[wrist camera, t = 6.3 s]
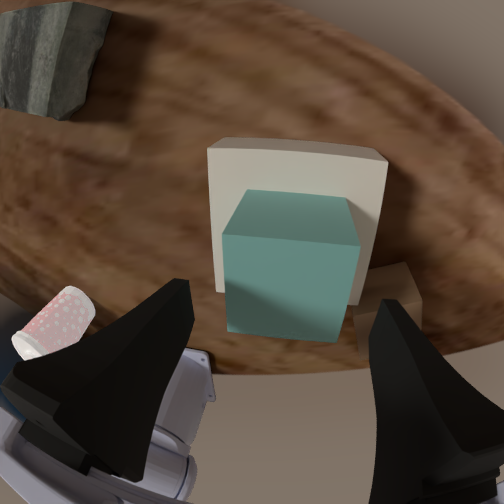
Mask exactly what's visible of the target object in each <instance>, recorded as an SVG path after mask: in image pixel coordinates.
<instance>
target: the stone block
mask: <svg viewBox="0 0 504 504" xmlns="http://www.w3.org/2000/svg"><path fill="white" fill-rule="evenodd" d="M112 13H113V12H112V11H111V10H108V9H104V8H101V7H97V6H93V5H88V4H84V3H79V2H62V3H53V4H46V5H40V6H35V7H29V8H24V9H18V10H14V11H9V12H5V13H1V14H0V107H2V108H7V109H11V110H16V111H20V112H25V113H30V114H35V115H39V116H44V117H53V118H54V119H56V120H58V121H65V120H69V119H70V117H71V115H72V114H73V113H74V112H75V111H77V110H78V109H80V108H81V107H82V106H83V105H84V103H85V99H86V92H87V88H88V83H89V79H90V76H91V73H92V67H93V64H94V62H95V59H96V57H97V55H98V52H99V49H100V48H101V47H102V45H103V42H104V38H105V35H106V31H107V27H108V25H109V22H110V18H111V15H112Z"/></svg>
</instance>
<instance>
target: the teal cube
mask: <svg viewBox="0 0 504 504" xmlns="http://www.w3.org/2000/svg"><path fill="white" fill-rule="evenodd" d="M360 248H361V245H360V242H359V239H358V235H357V232H356V229H355V226H354V222H353V219H352V216H351V213H350V210H349V207H348V204H347V201H346V198H345V197H336V196H326V195H316V194H305V193H293V192H280V191H266V190H250V189H247V190H246V192H245V194H244V195H243V197H242V199H241V201H240V202H239V204H238V206H237V208H236V210H235V211H234V213H233V215H232V217H231V218H230V220H229V222H228V224H227V225H226V227H225V229H224V231H223V233H222V250H223V268H224V285H225V301H226V315H227V329H228V332H236V333H243V334H251V335H259V336H267V337H276V338H286V339H296V340H307V341H319V342H333V343H337V340H338V336H339V333H340V329H341V326H342V322H343V319H344V315H345V311H346V307H347V304H348V300H349V296H350V292H351V288H352V284H353V280H354V275H355V271H356V267H357V262H358V258H359V253H360Z"/></svg>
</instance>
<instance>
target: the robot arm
mask: <svg viewBox="0 0 504 504" xmlns="http://www.w3.org/2000/svg"><path fill="white" fill-rule="evenodd" d="M194 321H195V318H194V312H193V305H192V299H191V292H190V286H189V280H184V279H176V278H174V279H172V280H171V281H169V282H168V283H167V284H165V285H164V286H163V287H161V288H160V289H159V290H158V291H156V292H155V293H154V294H152V295H151V296H150V297H148V298H147V299H146V300H144V301H143V302H142V303H140V304H139V305H138V306H136V307H135V308H134V309H132V310H131V311H129V312H128V313H126V314H125V315H124V316H122V317H121V318H119V319H118V320H116V321H115V322H113V323H112V324H110V325H108V326H107V327H105V328H103V329H102V330H100V331H98V332H96V333H95V334H93V335H91V336H89V337H87V338H85V339H83V340H81V341H78V342H76V343H74V344H72V345H70V346H68V347H65V348H63V349H60V350H58V351H55V352H52V353H49V354H46V355H43V356H40V357H36V358H32V359H29V360H25V361H21V362H17V363H16V364H15V366H14V367H13V369H12V370H11V372H10V373H9V374H8V376H7V377H6V379H5V380H4V381H3V383H2V384H1V386H0V387H1V390H2V392H3V393H4V395H5V396H6V397H7V398H8V400H9V401H10V402H11V403H12V404H13V405H14V406H15V407H16V408H17V409H18V410H19V411H20V412H21V413H22V414H23V415H24V417H25V418H27V419H26V420H25V422H24V424H23V423H22V422H21V421H20V420H19V419H17V418H16V417H15V416H13V415H12V414H11V413H9V412H8V411H7V410H5V409H4V408H3V407H0V476H1V477H2V478H3V479H4V480H5V481H6V482H7V483H8V484H9V485H10V486H11V487H12V488H13V489H14V490H15V491H16V492H17V493H18V494H19V495H20V496H21V497H22V498H23V499H24V500H25V501H27V502H28V503H29V504H192V503H188V502H186V500H187V499H188V497H189V496H190V494H191V492H192V489H193V487H194V484H195V481H196V476H197V465H196V463H195V460H194V458H193V456H191V455H189V452H190V448H191V447H190V445H191V444H192V442H193V441H194V439H195V436H196V433H197V430H198V427H199V424H200V421H201V418H202V415H203V412H204V408H205V405H206V402H207V401H210V402H214V401H215V400H216V396H215V391H214V385H213V379H212V373H211V367H210V361H209V355H208V354H207V353H206V352H204V351H199V350H194V349H188V348H185V347H186V345H187V343H188V340H189V337H190V334H191V331H192V327H193V324H194ZM368 344H369V363H370V369H371V376H372V383H373V390H374V398H375V405H376V415H377V437H376V440H377V441H376V457H375V466H374V475H373V482H372V489H371V494H370V499H369V504H504V480H503V481H501V482H499V483H497V484H496V477H498V476H499V475H500V469H499V467H500V466H501V465H503V464H504V410H503V409H501V408H500V407H498V406H497V405H496V404H494V403H493V402H491V401H490V400H489V399H487V398H486V397H484V396H483V395H482V394H481V393H480V392H479V391H477V390H476V389H475V388H474V387H473V386H472V385H471V384H469V383H468V382H467V381H466V380H465V379H464V378H463V377H462V376H461V375H460V374H459V373H458V372H457V371H456V370H455V369H454V368H453V367H452V366H451V365H450V364H449V363H448V362H447V361H446V360H445V359H444V357H443V356H442V355H441V354H440V353H439V352H438V350H437V349H436V348H435V347H434V346H433V345H432V343H431V342H430V341H429V340H428V338H427V337H426V336H425V335H424V333H423V332H422V331H421V330H420V328H419V327H418V326H417V324H416V323H415V322H414V321H413V319H412V318H411V317H410V315H409V314H408V313H407V311H406V310H405V309H404V308H403V306H402V305H401V304H400V303H399V302H398V300H396V299H382V300H381V303H380V306H379V309H378V312H377V315H376V318H375V320H374V323H373V326H372V329H371V331H370V334H369V337H368Z"/></svg>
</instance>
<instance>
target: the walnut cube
mask: <svg viewBox="0 0 504 504" xmlns="http://www.w3.org/2000/svg"><path fill="white" fill-rule="evenodd" d="M382 299H396V300H398V302H399V303H400V304H401V305H402V306H403V308H404V309H405V310H406V311H407V313H408V314H409V315H410V317H411V318H412V319H413V321H414V322H415V323H416V324H417V326H418V327H419V328H420V330H421V328H422V298H421V296H420V293H419V291H418V289H417V286H416V284H415V282H414V279H413V277H412V275H411V273H410V270H409V268H408V266H407V264H406V262H405V261H404V262H400V263H396V264H391V265H387V266H383V267H378V268H374V269H369V270H367V274H366V278H365V282H364V285H363V289H362V293H361V296H360V300H359V304H358V305H351V306H352V313H353V320H354V325H355V331H356V337H357V343H358V350H359V356H360V360H365V359H369V344H368V337H369V334H370V331H371V329H372V326H373V323H374V320H375V318H376V315H377V312H378V309H379V306H380V303H381V300H382Z"/></svg>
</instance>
